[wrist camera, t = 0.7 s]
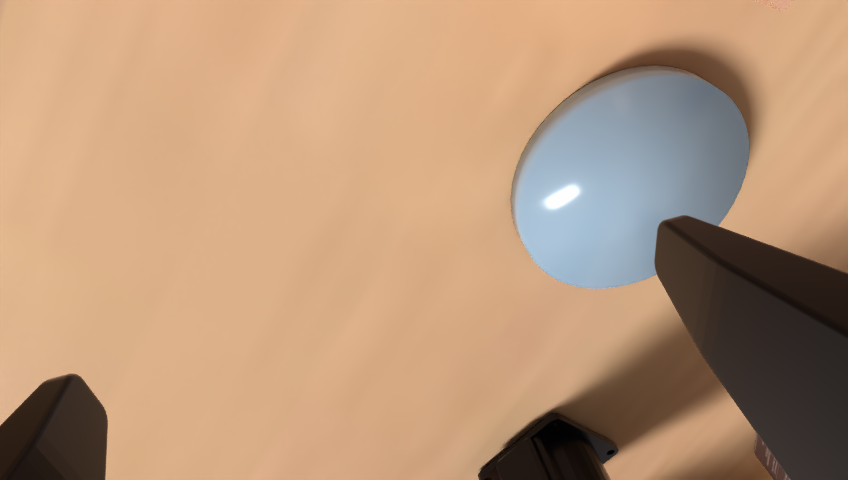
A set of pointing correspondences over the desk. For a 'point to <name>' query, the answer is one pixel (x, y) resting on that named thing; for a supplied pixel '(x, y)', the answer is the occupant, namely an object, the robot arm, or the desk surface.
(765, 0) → the container
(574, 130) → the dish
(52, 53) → the desk surface
